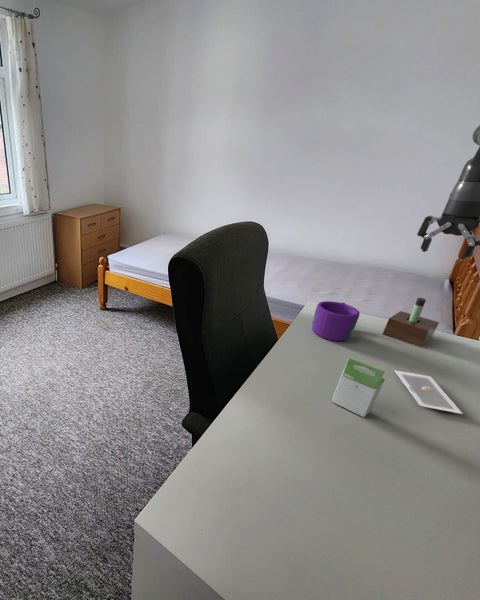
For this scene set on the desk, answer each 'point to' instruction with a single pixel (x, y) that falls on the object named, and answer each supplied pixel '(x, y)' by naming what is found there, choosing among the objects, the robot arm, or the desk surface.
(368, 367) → the ink box
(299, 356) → the desk surface
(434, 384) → the touchpad
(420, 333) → the pen stand
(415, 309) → the marker
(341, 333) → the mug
